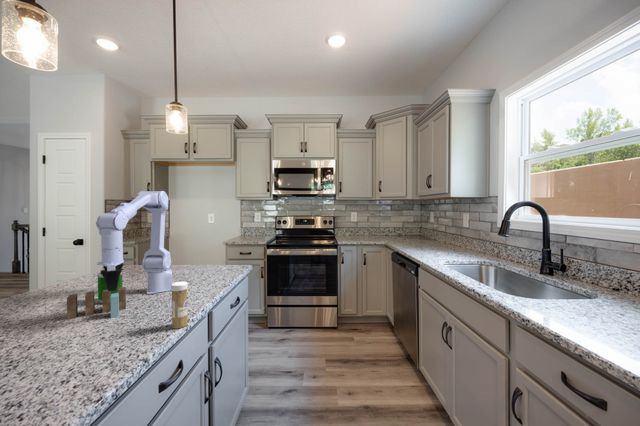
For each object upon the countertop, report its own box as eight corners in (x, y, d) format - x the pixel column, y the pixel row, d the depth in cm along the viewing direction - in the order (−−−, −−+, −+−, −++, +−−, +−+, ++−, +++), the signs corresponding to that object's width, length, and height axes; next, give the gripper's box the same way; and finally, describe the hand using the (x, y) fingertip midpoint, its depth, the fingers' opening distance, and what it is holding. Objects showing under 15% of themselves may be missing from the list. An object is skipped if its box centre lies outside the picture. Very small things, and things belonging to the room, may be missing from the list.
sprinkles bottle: (185, 328, 80) (185, 284, 79) (169, 329, 79) (168, 285, 78) (189, 321, 84) (189, 280, 84) (174, 323, 83) (173, 281, 83)
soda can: (127, 298, 105) (126, 269, 105) (106, 305, 98) (105, 274, 97) (114, 296, 107) (113, 268, 107) (93, 303, 100) (92, 272, 100)
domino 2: (94, 310, 93) (94, 291, 93) (93, 314, 89) (92, 294, 89) (87, 312, 92) (86, 292, 92) (85, 316, 88) (85, 295, 88)
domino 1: (77, 313, 90) (77, 293, 90) (75, 318, 87) (75, 297, 87) (69, 315, 89) (69, 295, 89) (67, 319, 86) (66, 298, 85)
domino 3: (110, 307, 96) (110, 289, 95) (110, 311, 92) (109, 292, 92) (103, 309, 95) (103, 290, 94) (102, 313, 91) (102, 293, 91)
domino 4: (126, 305, 98) (125, 286, 98) (125, 308, 95) (125, 289, 95) (119, 306, 97) (118, 287, 97) (118, 310, 94) (118, 290, 93)
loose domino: (118, 312, 92) (118, 292, 91) (118, 316, 88) (118, 296, 88) (111, 313, 90) (111, 293, 90) (110, 318, 87) (110, 297, 87)
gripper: (99, 246, 92) (100, 284, 93) (94, 252, 81) (95, 295, 81) (124, 244, 96) (124, 281, 97) (122, 250, 85) (123, 291, 85)
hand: (113, 287), depth 89 cm, fingers open, 7 cm apart
